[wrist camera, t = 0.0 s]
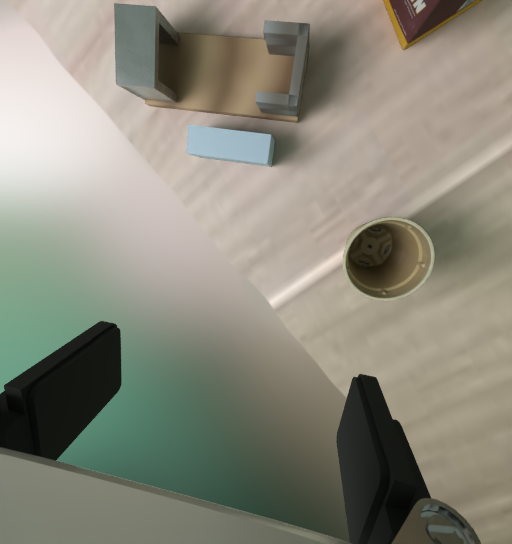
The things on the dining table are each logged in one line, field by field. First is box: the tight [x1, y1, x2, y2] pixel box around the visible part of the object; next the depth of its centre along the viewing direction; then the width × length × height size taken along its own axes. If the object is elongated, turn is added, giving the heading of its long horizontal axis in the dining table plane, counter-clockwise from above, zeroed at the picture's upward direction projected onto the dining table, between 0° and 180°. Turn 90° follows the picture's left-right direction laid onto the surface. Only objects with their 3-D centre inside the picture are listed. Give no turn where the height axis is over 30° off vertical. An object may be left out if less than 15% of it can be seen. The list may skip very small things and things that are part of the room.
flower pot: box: [343, 217, 435, 301], centre depth 35 cm, size 9×9×9 cm
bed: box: [145, 20, 310, 123], centre depth 33 cm, size 20×8×6 cm, turn 83°
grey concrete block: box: [114, 3, 180, 103], centre depth 33 cm, size 4×7×6 cm, turn 173°
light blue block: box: [187, 125, 275, 167], centre depth 36 cm, size 10×3×5 cm, turn 83°
